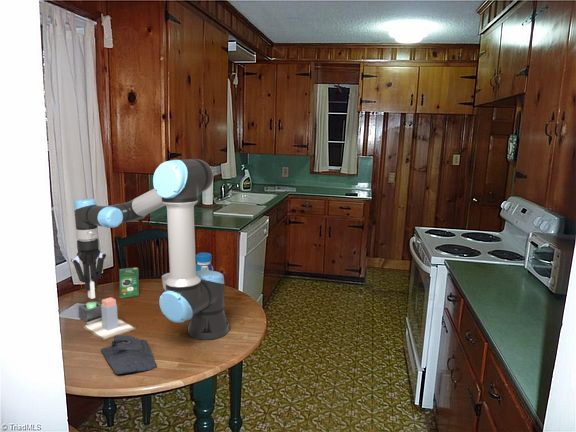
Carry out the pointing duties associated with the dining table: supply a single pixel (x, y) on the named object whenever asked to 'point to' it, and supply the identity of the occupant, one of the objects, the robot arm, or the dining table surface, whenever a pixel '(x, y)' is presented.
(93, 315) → the switch box
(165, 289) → the teacup
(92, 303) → the button
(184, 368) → the dining table surface
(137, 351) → the dark grey folded cloth
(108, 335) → the cream flat rectangular panel
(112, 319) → the pink-tipped grey block
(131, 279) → the coffee box
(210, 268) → the beverage bottle
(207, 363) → the dining table surface
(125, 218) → the robot arm
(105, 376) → the dining table surface
